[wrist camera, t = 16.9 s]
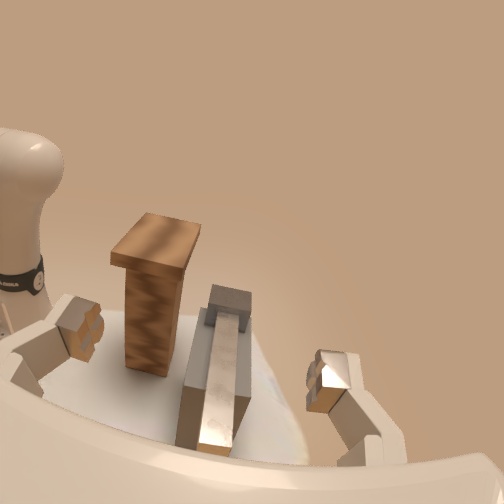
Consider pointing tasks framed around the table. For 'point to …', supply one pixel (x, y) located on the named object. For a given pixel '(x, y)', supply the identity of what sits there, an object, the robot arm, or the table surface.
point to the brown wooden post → (153, 287)
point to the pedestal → (197, 382)
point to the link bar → (222, 368)
